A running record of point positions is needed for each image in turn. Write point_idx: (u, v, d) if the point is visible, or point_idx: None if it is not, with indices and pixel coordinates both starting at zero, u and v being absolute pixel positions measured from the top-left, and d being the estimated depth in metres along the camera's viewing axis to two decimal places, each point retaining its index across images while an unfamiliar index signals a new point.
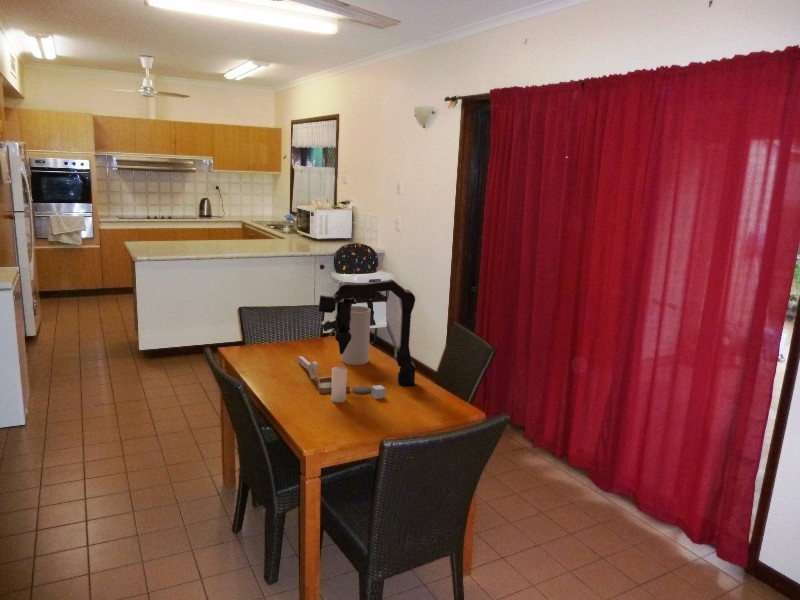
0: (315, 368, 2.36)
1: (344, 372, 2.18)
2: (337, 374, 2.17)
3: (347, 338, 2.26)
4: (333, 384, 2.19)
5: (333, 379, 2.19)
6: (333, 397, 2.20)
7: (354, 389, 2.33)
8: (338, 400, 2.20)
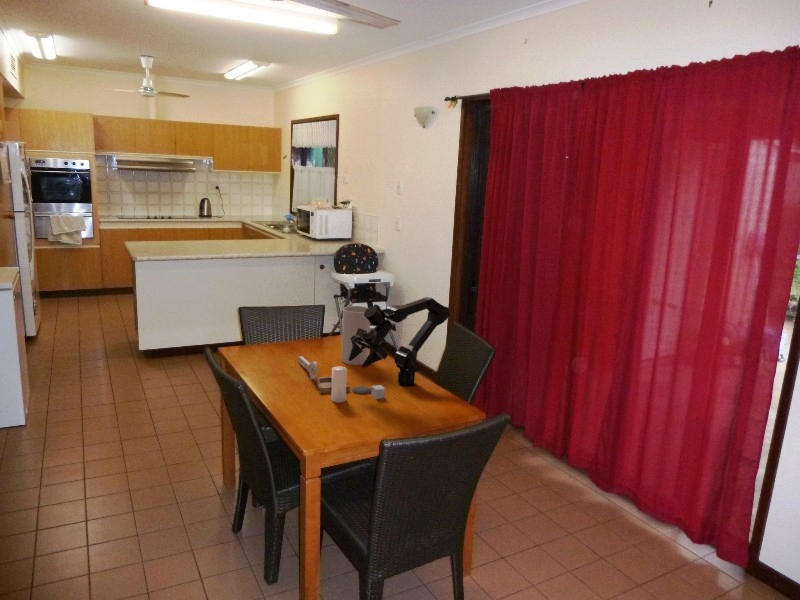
0: (315, 368, 2.36)
1: (344, 372, 2.18)
2: (337, 374, 2.17)
3: (384, 356, 2.21)
4: (333, 384, 2.19)
5: (333, 379, 2.19)
6: (333, 397, 2.20)
7: (354, 389, 2.33)
8: (338, 400, 2.20)
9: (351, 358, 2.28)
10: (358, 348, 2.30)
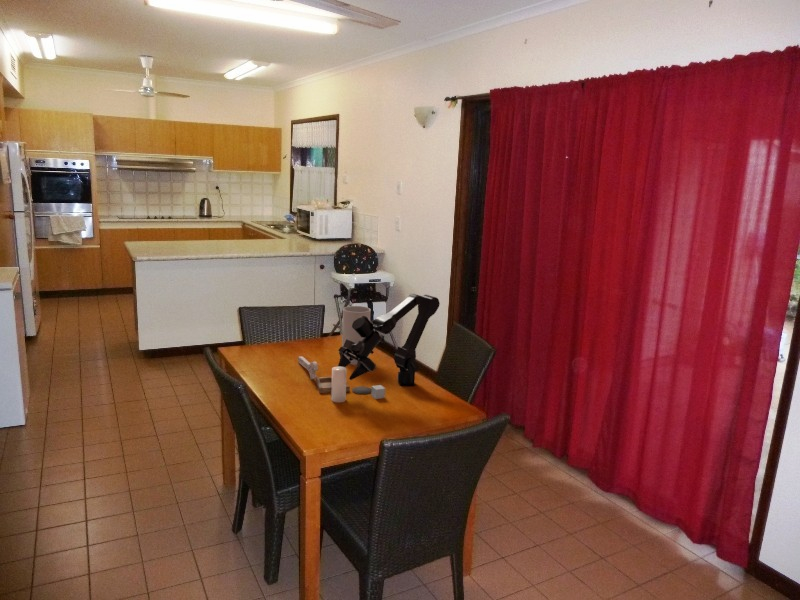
0: (315, 368, 2.36)
1: (344, 372, 2.18)
2: (337, 374, 2.17)
3: (372, 368, 2.18)
4: (333, 384, 2.19)
5: (333, 379, 2.19)
6: (333, 397, 2.20)
7: (354, 389, 2.33)
8: (338, 400, 2.20)
9: None
10: (346, 359, 2.27)
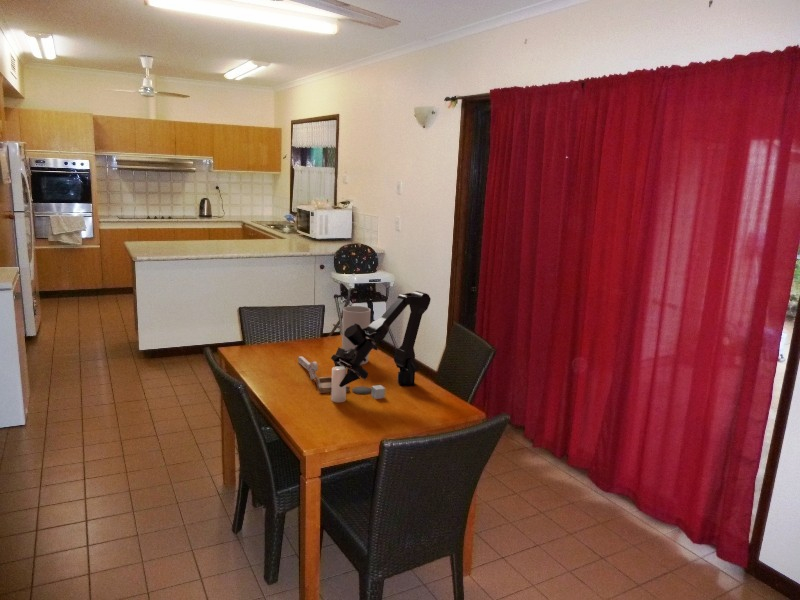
0: (315, 368, 2.36)
1: (344, 372, 2.18)
2: (337, 374, 2.17)
3: (364, 377, 2.16)
4: (333, 384, 2.19)
5: (333, 379, 2.19)
6: (333, 397, 2.20)
7: (354, 389, 2.33)
8: (338, 400, 2.20)
9: None
10: None
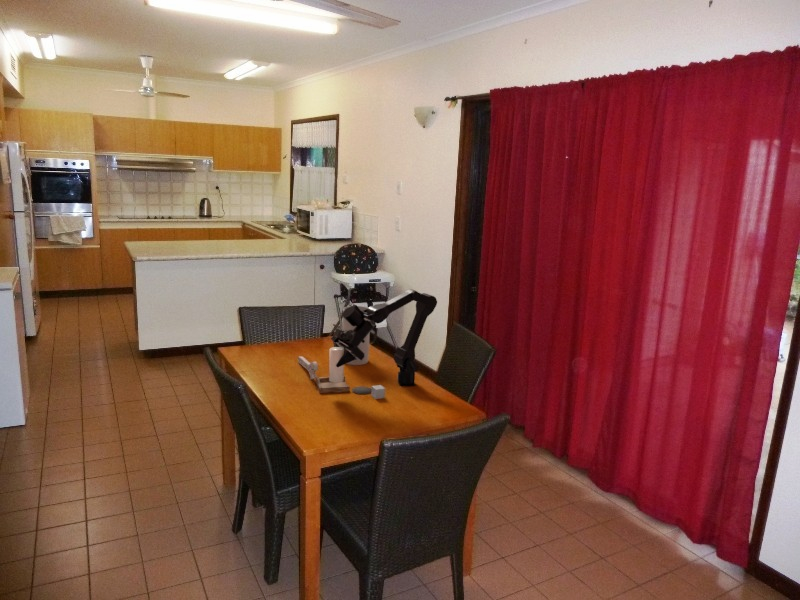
0: (315, 368, 2.36)
1: (341, 352, 2.20)
2: (334, 354, 2.19)
3: (360, 357, 2.17)
4: (330, 364, 2.21)
5: (330, 359, 2.21)
6: (330, 377, 2.22)
7: (354, 389, 2.33)
8: (335, 380, 2.21)
9: None
10: None
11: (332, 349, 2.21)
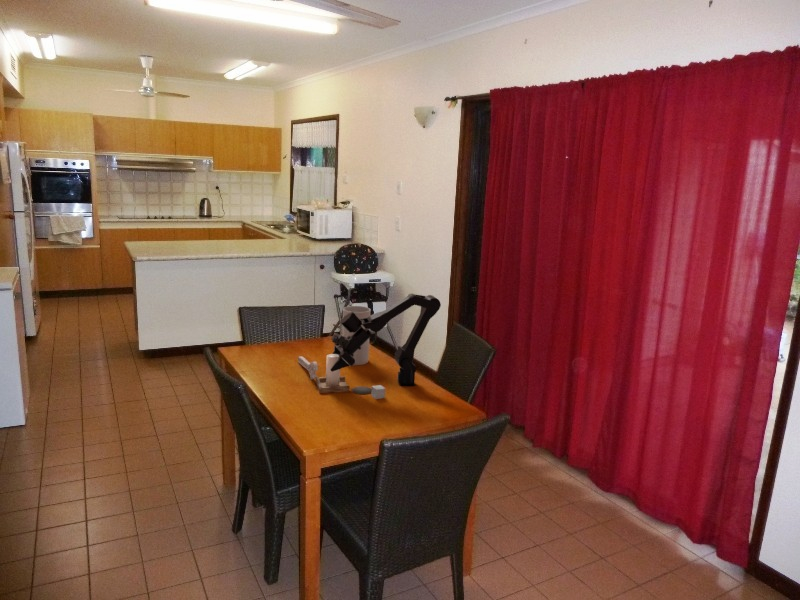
0: (315, 368, 2.36)
1: (335, 359, 2.30)
2: (328, 361, 2.31)
3: (350, 363, 2.25)
4: (326, 369, 2.33)
5: (326, 365, 2.32)
6: (326, 382, 2.34)
7: (354, 389, 2.33)
8: (329, 385, 2.32)
9: None
10: (338, 352, 2.38)
11: (329, 355, 2.32)
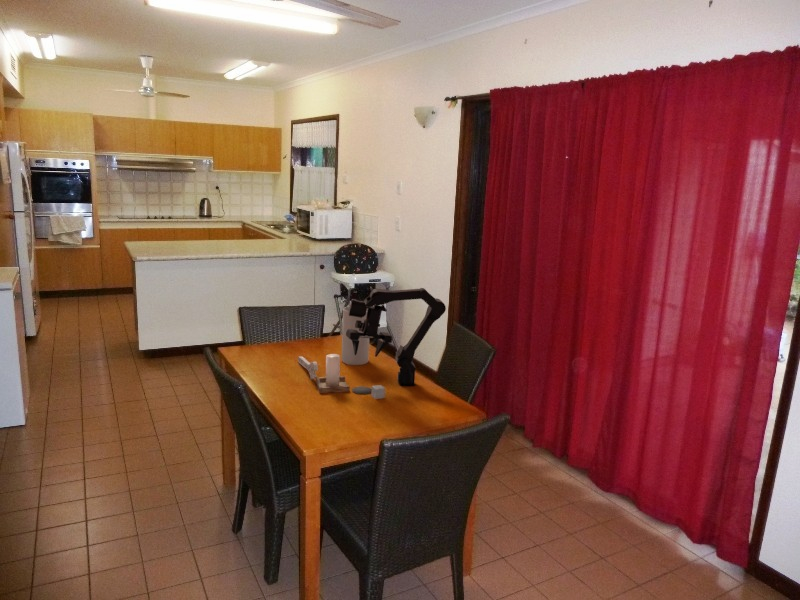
0: (315, 368, 2.36)
1: (335, 359, 2.30)
2: (328, 361, 2.31)
3: (349, 336, 2.32)
4: (326, 370, 2.33)
5: (326, 365, 2.32)
6: (326, 382, 2.34)
7: (354, 389, 2.33)
8: (329, 385, 2.32)
9: (375, 353, 2.40)
10: (379, 342, 2.39)
11: (328, 355, 2.32)
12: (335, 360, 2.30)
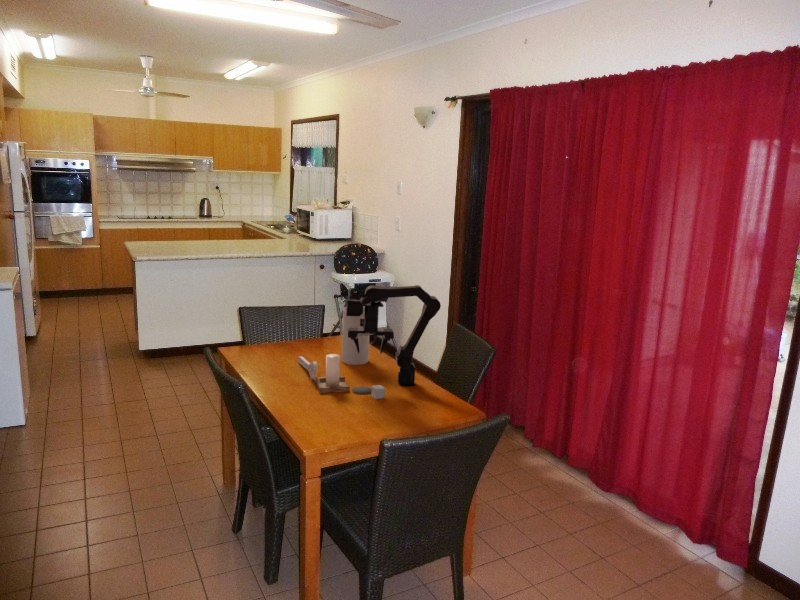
0: (315, 368, 2.36)
1: (335, 359, 2.30)
2: (328, 361, 2.31)
3: None
4: (326, 370, 2.33)
5: (326, 365, 2.32)
6: (326, 382, 2.34)
7: (354, 389, 2.33)
8: (329, 385, 2.32)
9: (380, 350, 2.39)
10: (382, 339, 2.38)
11: (328, 356, 2.32)
12: (335, 360, 2.30)
